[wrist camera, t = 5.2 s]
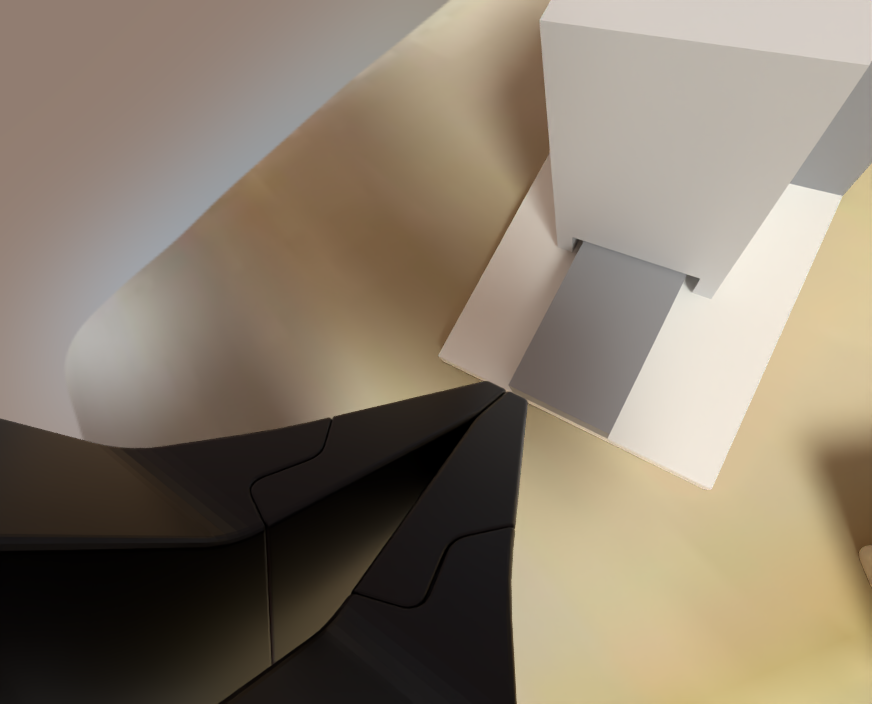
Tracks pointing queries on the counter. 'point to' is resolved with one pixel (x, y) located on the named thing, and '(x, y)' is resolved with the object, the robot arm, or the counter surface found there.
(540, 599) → the counter surface
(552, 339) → the board
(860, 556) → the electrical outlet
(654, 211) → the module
